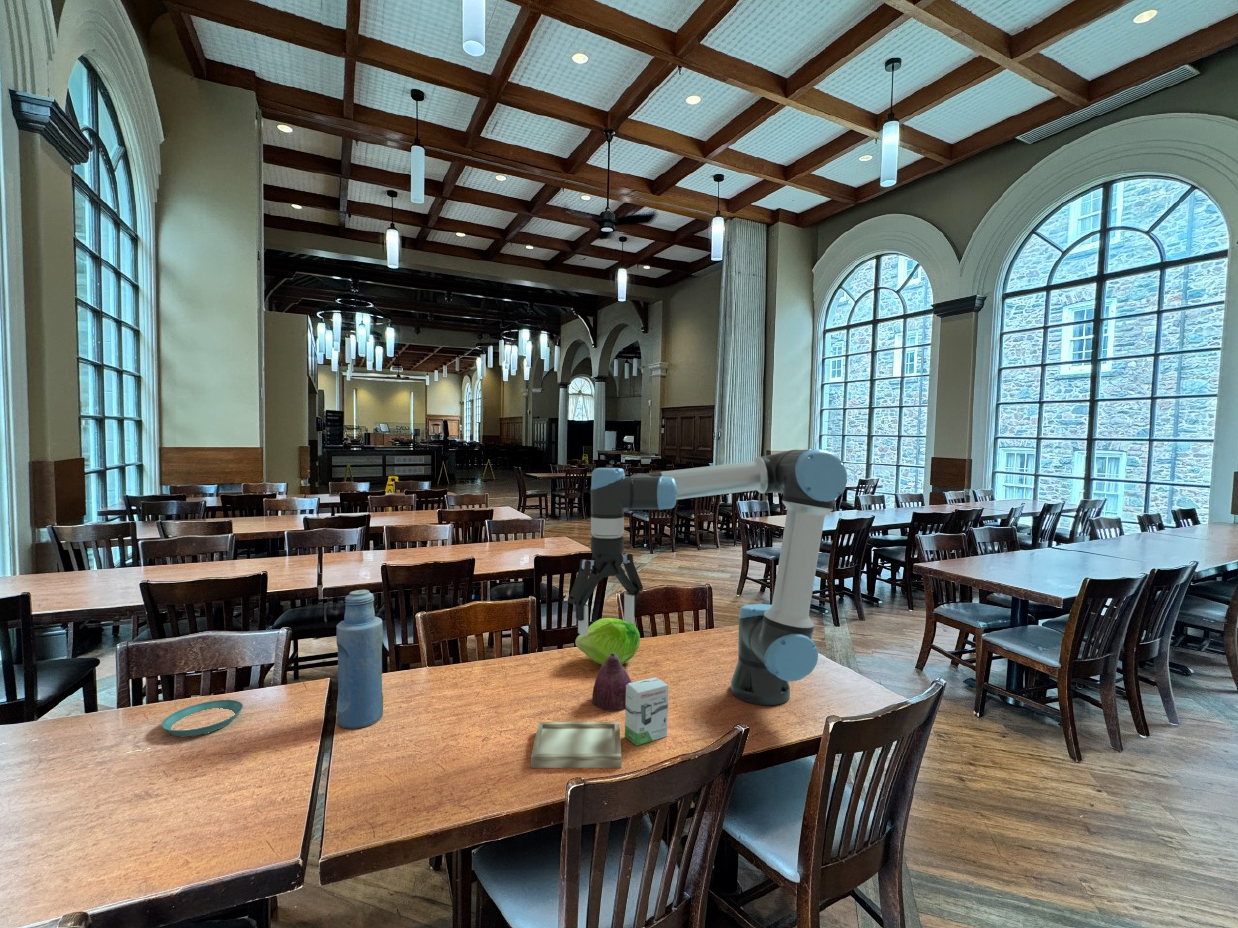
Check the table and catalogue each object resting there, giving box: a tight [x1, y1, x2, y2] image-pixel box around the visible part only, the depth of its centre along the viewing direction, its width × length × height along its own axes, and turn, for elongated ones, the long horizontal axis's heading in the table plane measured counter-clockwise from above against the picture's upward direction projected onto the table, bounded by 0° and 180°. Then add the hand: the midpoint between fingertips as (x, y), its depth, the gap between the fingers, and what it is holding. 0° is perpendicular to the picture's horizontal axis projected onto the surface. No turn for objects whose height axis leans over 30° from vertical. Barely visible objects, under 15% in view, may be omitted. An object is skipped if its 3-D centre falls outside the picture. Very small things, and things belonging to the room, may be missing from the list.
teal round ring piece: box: [161, 699, 244, 737], centre depth 125 cm, size 15×15×3 cm
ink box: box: [624, 677, 669, 747], centre depth 122 cm, size 9×5×12 cm, turn 122°
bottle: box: [336, 589, 384, 730], centre depth 128 cm, size 10×10×30 cm
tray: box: [530, 721, 622, 769], centre depth 117 cm, size 18×14×2 cm
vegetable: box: [591, 653, 632, 712], centre depth 138 cm, size 10×10×15 cm
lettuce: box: [575, 617, 641, 666], centre depth 164 cm, size 15×20×14 cm
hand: (606, 627), depth 126 cm, fingers open, 13 cm apart
